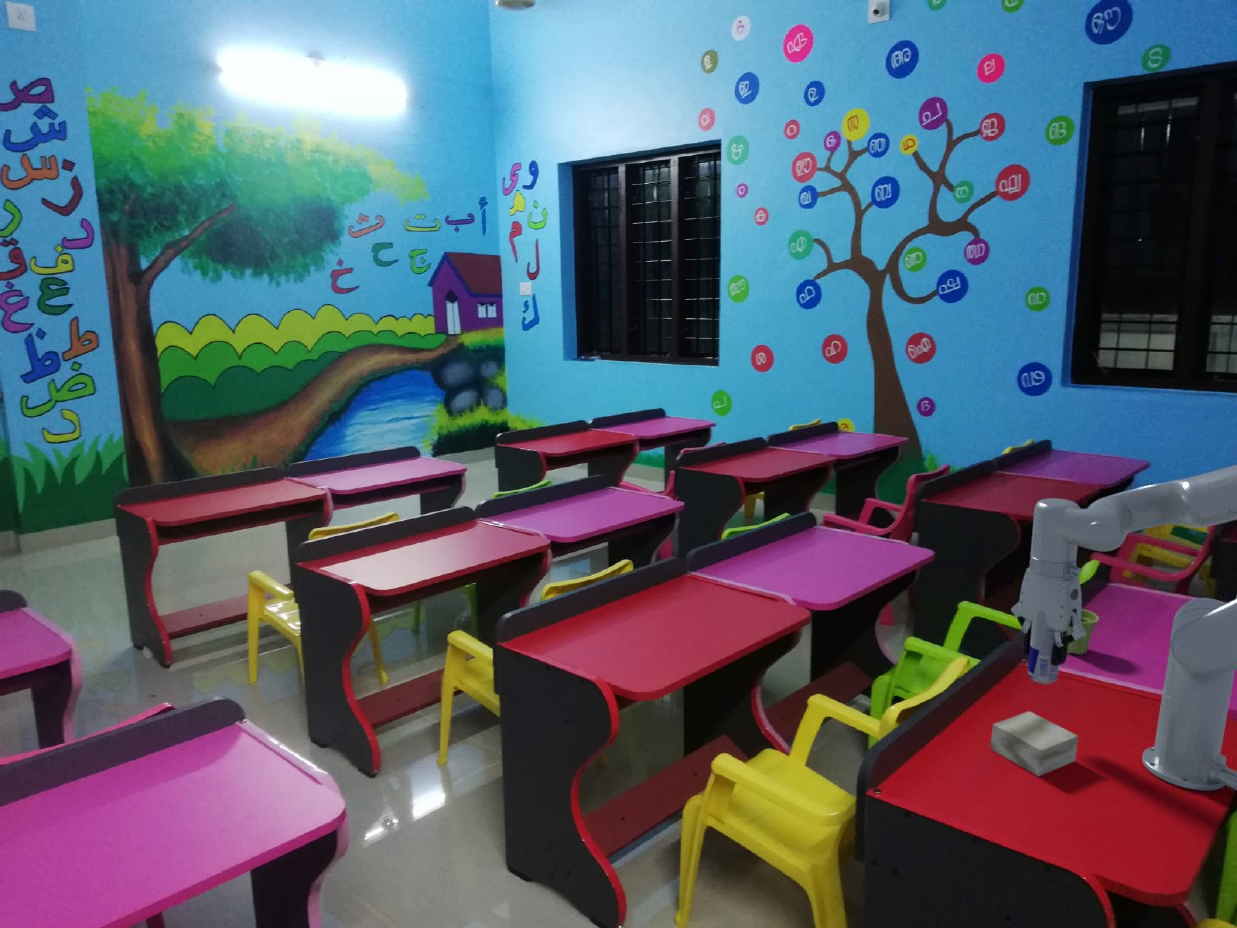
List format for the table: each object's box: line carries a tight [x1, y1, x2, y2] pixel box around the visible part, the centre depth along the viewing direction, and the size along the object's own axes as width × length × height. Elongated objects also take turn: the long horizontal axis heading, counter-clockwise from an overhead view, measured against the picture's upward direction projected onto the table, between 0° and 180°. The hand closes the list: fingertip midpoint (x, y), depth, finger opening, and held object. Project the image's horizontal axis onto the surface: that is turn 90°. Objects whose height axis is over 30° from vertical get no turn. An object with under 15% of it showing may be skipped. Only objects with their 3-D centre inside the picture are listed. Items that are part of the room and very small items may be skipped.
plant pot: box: [1062, 608, 1100, 656], centre depth 201 cm, size 9×9×9 cm
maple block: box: [990, 711, 1079, 777], centre depth 158 cm, size 10×10×5 cm
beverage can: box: [1027, 607, 1062, 685], centre depth 163 cm, size 5×5×15 cm
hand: (1044, 657), depth 164 cm, fingers closed on beverage can, 5 cm apart
